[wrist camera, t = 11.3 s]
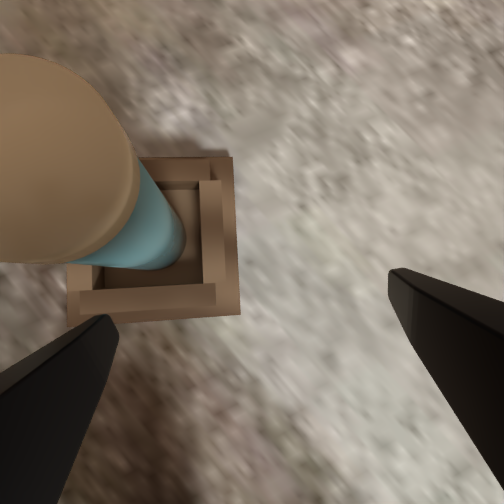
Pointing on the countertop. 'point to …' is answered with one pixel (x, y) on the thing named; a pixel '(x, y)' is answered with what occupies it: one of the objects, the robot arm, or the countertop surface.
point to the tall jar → (74, 177)
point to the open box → (188, 265)
